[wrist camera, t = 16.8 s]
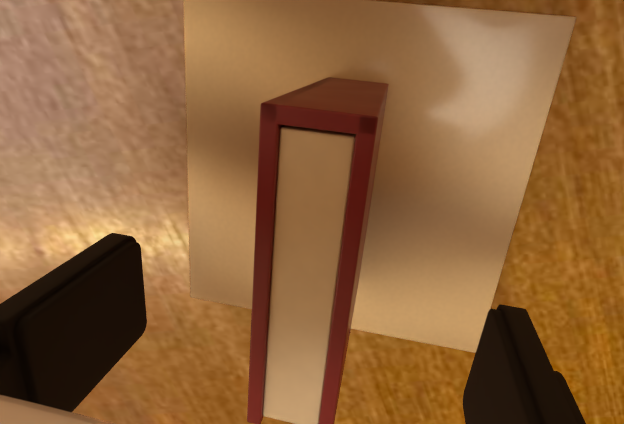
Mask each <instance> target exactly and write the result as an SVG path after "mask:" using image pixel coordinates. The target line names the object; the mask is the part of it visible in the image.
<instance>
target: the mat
mask: <svg viewBox="0 0 624 424" xmlns="http://www.w3.org/2000/svg"><path fill="white" fill-rule="evenodd" d="M575 22H576V17H575V16H562V15H550V14H538V13H525V12H513V11H500V10H488V9H475V8H463V7H451V6H438V5H426V4H413V3H401V2H388V1H376V0H184V44H185V88H186V131H187V175H188V219H189V263H190V297H192V298H197V299H202V300H207V301H212V302H217V303H222V304H227V305H233V306H238V307H243V308H248V309H252V295H253V272H254V248H255V224H256V200H257V177H258V153H259V129H260V105H261V103H263V102H265V101H268V100H271V99H273V98H276V97H278V96H281V95H284V94H286V93H289V92H291V91H294V90H297V89H299V88H302V87H304V86H307V85H310V84H312V83H315V82H317V81H320V80H323V79H325V78H328V77H332V78H341V79H350V80H359V81H369V82H378V83H387V84H389V86H388V93H387V99H386V106H385V112H384V119H383V126H382V132H381V139H380V145H379V152H378V159H377V165H376V172H375V178H374V185H373V192H372V198H371V205H370V211H369V218H368V225H367V231H366V238H365V244H364V251H363V258H362V264H361V271H360V277H359V283H358V289H357V295H356V301H355V306H354V312H353V318H352V323H351V329H356V330H361V331H366V332H371V333H376V334H381V335H387V336H392V337H397V338H402V339H407V340H412V341H417V342H423V343H428V344H433V345H438V346H443V347H448V348H453V349H458V350H464V351H469V352H474V353H476V351H477V347H478V344H479V341H480V337H481V334H482V331H483V327H484V324H485V321H486V317H487V314H488V311H489V310H490V308H491V305H492V301H493V298H494V295H495V291H496V288H497V284H498V281H499V278H500V274H501V271H502V268H503V264H504V261H505V257H506V254H507V251H508V247H509V244H510V241H511V237H512V234H513V231H514V227H515V224H516V220H517V217H518V214H519V210H520V207H521V204H522V200H523V197H524V193H525V190H526V187H527V183H528V180H529V177H530V173H531V170H532V166H533V163H534V160H535V156H536V153H537V150H538V146H539V143H540V140H541V136H542V133H543V129H544V126H545V123H546V119H547V116H548V113H549V109H550V106H551V102H552V99H553V96H554V92H555V89H556V86H557V82H558V79H559V75H560V72H561V69H562V65H563V62H564V59H565V55H566V52H567V48H568V45H569V42H570V38H571V35H572V32H573V28H574V25H575Z"/></svg>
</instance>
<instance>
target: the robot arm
mask: <svg viewBox="0 0 624 424" xmlns="http://www.w3.org/2000/svg"><path fill="white" fill-rule="evenodd" d="M146 324H147V319H146V307H145V295H144V282H143V270H142V258H141V247H140V245H139V243H136V240H135V238H133V237H132V236H127V235H121V234H116V233H111V234H109V235H107V236H106V237H104V238H103V239H101V240H99V241H98V242H96V243H95V244H93V245H92V246H90V247H88V248H87V249H85V250H84V251H82V252H81V253H79V254H78V255H76V256H74V257H73V258H71V259H70V260H68V261H67V262H65V263H63V264H62V265H60V266H59V267H57V268H56V269H54V270H53V271H51V272H49V273H48V274H46V275H45V276H43V277H42V278H40V279H39V280H37V281H35V282H34V283H32V284H31V285H29V286H28V287H26V288H24V289H23V290H21V291H20V292H18V293H17V294H15V295H14V296H12V297H10V298H9V299H7V300H6V301H4V302H3V303H1V304H0V424H114V423H111V422H107V421H103V420H99V419H95V418H91V417H87V416H83V415H79V414H76V413H72V411H73V410H74V409H75V408H76V407H77V406H78V405H79V404H80V403H81V401H82V400H83V399H84V398H85V397H86V396H87V395H88V394H89V393H90V392H91V391H92V389H93V388H94V387H95V386H96V385H97V384H98V383H99V382H100V381H101V380H102V378H103V377H104V376H105V375H106V374H107V373H108V372H109V371H110V370H111V369H112V367H113V366H114V365H115V364H116V363H117V362H118V361H119V360H120V359H121V358H122V356H123V355H124V354H125V353H126V352H127V351H128V350H129V349H130V348H131V347H132V345H133V344H134V343H135V342H136V341H137V340H138V339H139V338H140V337H141V336H142V334H143V333H144V331H145V328H146ZM463 409H464V416H465V422H466V424H586V423H585V421H584V419H583V417H582V415H581V412H580V410H579V408H578V406H577V404H576V402H575V400H574V398H573V395H572V393H571V391H570V389H569V387H568V385H567V383H566V380H565V379H564V377H563V376H562V374H561V373H559V372H557V371H553V368H552V366H551V364H550V362H549V359H548V357H547V355H546V353H545V350H544V348H543V346H542V344H541V342H540V339H539V337H538V335H537V333H536V330H535V328H534V326H533V324H532V321H531V319H530V317H529V315H528V312H527V311H526V309H522V308H517V307H511V306H506V305H499V306H498V308H497V310H495V309H490V310H489V311H488V314H487V317H486V321H485V324H484V327H483V331H482V334H481V337H480V341H479V344H478V347H477V351H476V354H475V357H474V360H473V364H472V367H471V370H470V374H469V377H468V380H467V384H466V387H465V390H464V395H463Z"/></svg>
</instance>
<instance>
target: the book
mask: <svg viewBox="0 0 624 424" xmlns="http://www.w3.org/2000/svg"><path fill="white" fill-rule="evenodd" d="M388 86H389V84H387V83H378V82H369V81H359V80H350V79H341V78H332V77H328V78H325V79H323V80H320V81H317V82H315V83H312V84H310V85H307V86H304V87H302V88H299V89H297V90H294V91H291V92H289V93H286V94H284V95H281V96H278V97H276V98H273V99H271V100H268V101H265V102H263V103H261V105H260V129H259V153H258V177H257V200H256V224H255V248H254V272H253V295H252V319H251V343H250V367H249V390H248V414H247V421H248V422H250V423H255V424H261V421H262V419H263V416H265V417H270V418H274V419H278V420H282V421H287V422H291V423H295V424H334V421H335V415H336V409H337V403H338V398H339V392H340V386H341V381H342V375H343V369H344V363H345V358H346V352H347V346H348V341H349V335H350V329H351V323H352V318H353V312H354V306H355V301H356V295H357V289H358V283H359V277H360V271H361V264H362V258H363V251H364V244H365V238H366V231H367V225H368V218H369V211H370V205H371V198H372V192H373V185H374V178H375V172H376V165H377V159H378V152H379V145H380V139H381V132H382V126H383V119H384V112H385V106H386V99H387V93H388Z"/></svg>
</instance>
